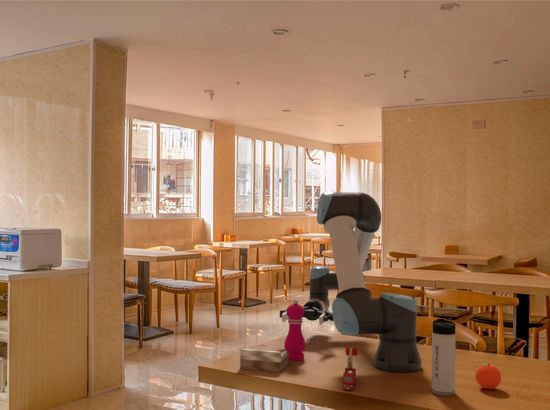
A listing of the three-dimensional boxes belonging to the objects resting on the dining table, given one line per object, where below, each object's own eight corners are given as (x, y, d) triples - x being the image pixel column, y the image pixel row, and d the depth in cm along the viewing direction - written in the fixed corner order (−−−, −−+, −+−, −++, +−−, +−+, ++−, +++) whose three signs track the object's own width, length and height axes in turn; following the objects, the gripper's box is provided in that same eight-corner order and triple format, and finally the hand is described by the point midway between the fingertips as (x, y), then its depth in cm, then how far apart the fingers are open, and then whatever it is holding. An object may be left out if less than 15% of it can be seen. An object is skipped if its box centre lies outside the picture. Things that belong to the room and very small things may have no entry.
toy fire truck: (342, 390, 164) (342, 356, 164) (346, 377, 178) (346, 345, 178) (354, 391, 164) (354, 356, 164) (357, 377, 177) (357, 345, 177)
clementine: (467, 387, 169) (467, 362, 169) (478, 382, 174) (479, 358, 174) (494, 394, 163) (494, 368, 163) (505, 388, 168) (505, 364, 168)
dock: (288, 363, 193) (288, 344, 193) (279, 372, 182) (280, 352, 182) (250, 359, 196) (251, 341, 196) (240, 368, 185) (240, 349, 185)
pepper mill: (309, 357, 200) (310, 299, 200) (298, 362, 194) (299, 301, 194) (290, 354, 204) (291, 297, 204) (280, 359, 198) (280, 299, 198)
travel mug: (450, 388, 167) (451, 318, 167) (458, 396, 161) (459, 322, 161) (428, 388, 167) (429, 318, 167) (435, 396, 160) (436, 322, 160)
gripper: (345, 321, 225) (336, 332, 205) (282, 317, 232) (267, 327, 212) (345, 301, 225) (336, 311, 205) (282, 297, 232) (267, 306, 212)
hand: (301, 319), depth 208 cm, fingers open, 13 cm apart
